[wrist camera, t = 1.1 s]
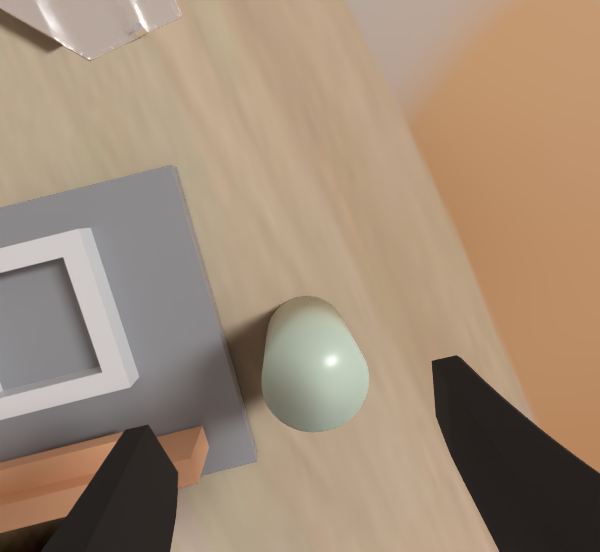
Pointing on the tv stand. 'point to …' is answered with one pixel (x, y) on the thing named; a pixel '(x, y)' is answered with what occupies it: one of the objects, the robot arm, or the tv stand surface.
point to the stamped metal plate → (93, 21)
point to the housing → (112, 323)
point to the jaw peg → (312, 367)
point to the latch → (80, 475)
